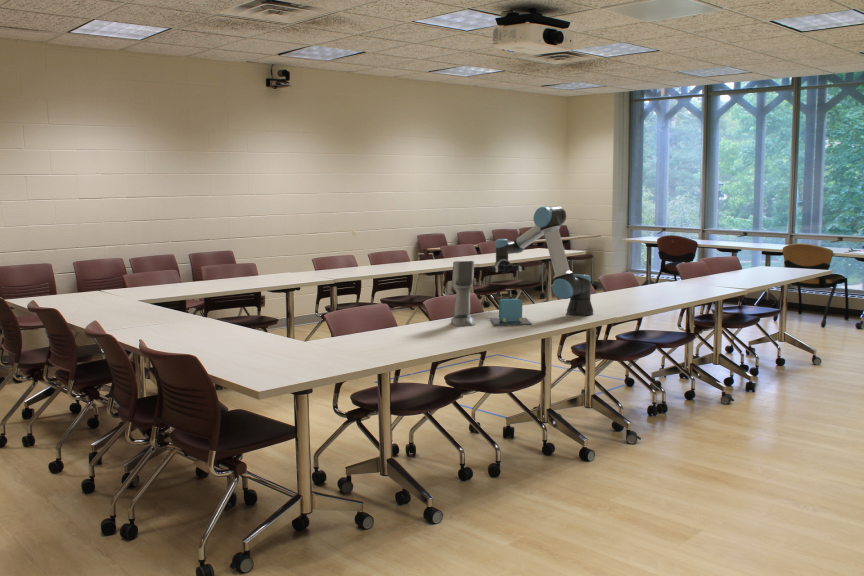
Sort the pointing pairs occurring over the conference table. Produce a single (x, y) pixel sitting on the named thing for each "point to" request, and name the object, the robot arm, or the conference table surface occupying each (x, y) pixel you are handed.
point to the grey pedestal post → (462, 292)
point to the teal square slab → (510, 309)
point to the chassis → (499, 323)
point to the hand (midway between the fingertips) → (509, 269)
